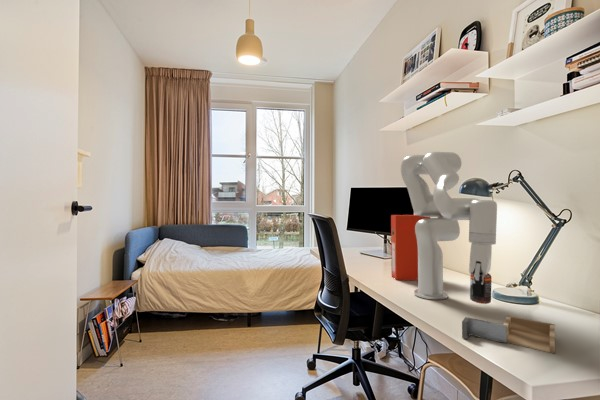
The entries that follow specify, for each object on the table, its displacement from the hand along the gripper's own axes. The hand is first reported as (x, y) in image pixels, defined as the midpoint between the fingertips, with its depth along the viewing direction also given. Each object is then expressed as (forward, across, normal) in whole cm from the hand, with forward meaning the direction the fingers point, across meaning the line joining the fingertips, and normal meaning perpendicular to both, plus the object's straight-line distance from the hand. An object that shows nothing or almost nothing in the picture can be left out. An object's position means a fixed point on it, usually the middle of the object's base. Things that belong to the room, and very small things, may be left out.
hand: (480, 293), depth 101 cm
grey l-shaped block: (+8, +17, +4) cm, 19 cm away
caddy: (+8, +9, +13) cm, 18 cm away
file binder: (+12, -43, -38) cm, 58 cm away
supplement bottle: (+3, 0, 0) cm, 3 cm away
